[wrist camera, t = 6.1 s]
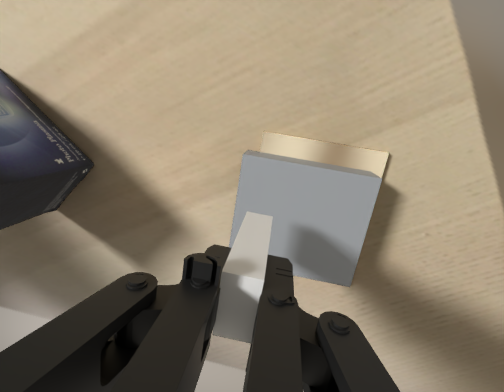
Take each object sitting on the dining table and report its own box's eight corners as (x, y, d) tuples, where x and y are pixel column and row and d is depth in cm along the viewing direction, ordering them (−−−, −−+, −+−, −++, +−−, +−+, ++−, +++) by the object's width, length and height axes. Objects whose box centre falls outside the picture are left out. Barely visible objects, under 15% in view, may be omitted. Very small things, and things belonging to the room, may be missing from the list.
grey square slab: (226, 261, 21) (350, 287, 20) (243, 154, 19) (382, 178, 18) (233, 246, 23) (342, 268, 23) (248, 149, 21) (370, 171, 20)
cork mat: (241, 262, 24) (240, 264, 24) (263, 130, 21) (263, 131, 21) (348, 284, 23) (349, 286, 23) (387, 152, 20) (389, 152, 20)
